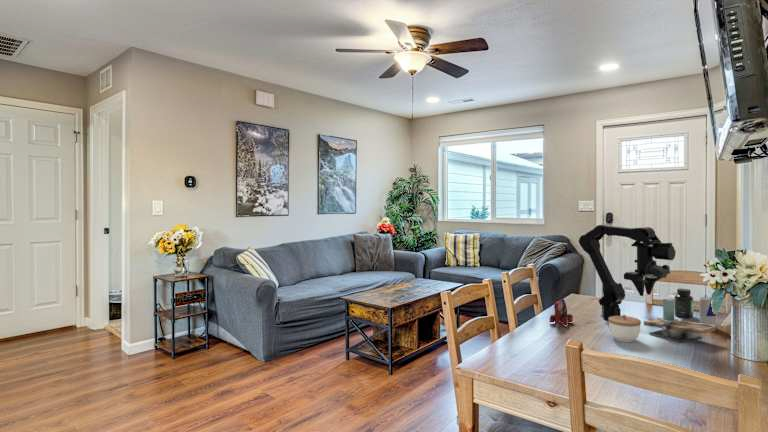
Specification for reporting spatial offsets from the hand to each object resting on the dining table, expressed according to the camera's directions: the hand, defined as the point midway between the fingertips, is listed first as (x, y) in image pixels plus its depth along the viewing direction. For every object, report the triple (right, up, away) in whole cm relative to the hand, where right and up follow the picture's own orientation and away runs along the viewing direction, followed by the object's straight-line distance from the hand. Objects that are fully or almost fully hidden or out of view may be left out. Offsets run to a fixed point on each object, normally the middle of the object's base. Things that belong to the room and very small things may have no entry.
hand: (645, 295), depth 176 cm
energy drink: (+23, -13, -4) cm, 26 cm away
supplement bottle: (+25, -12, +13) cm, 31 cm away
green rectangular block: (+3, -9, -10) cm, 14 cm away
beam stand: (+4, -13, -12) cm, 19 cm away
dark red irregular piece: (-32, -14, +8) cm, 35 cm away
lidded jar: (-17, -14, -14) cm, 26 cm away
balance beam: (+4, -10, -14) cm, 17 cm away
